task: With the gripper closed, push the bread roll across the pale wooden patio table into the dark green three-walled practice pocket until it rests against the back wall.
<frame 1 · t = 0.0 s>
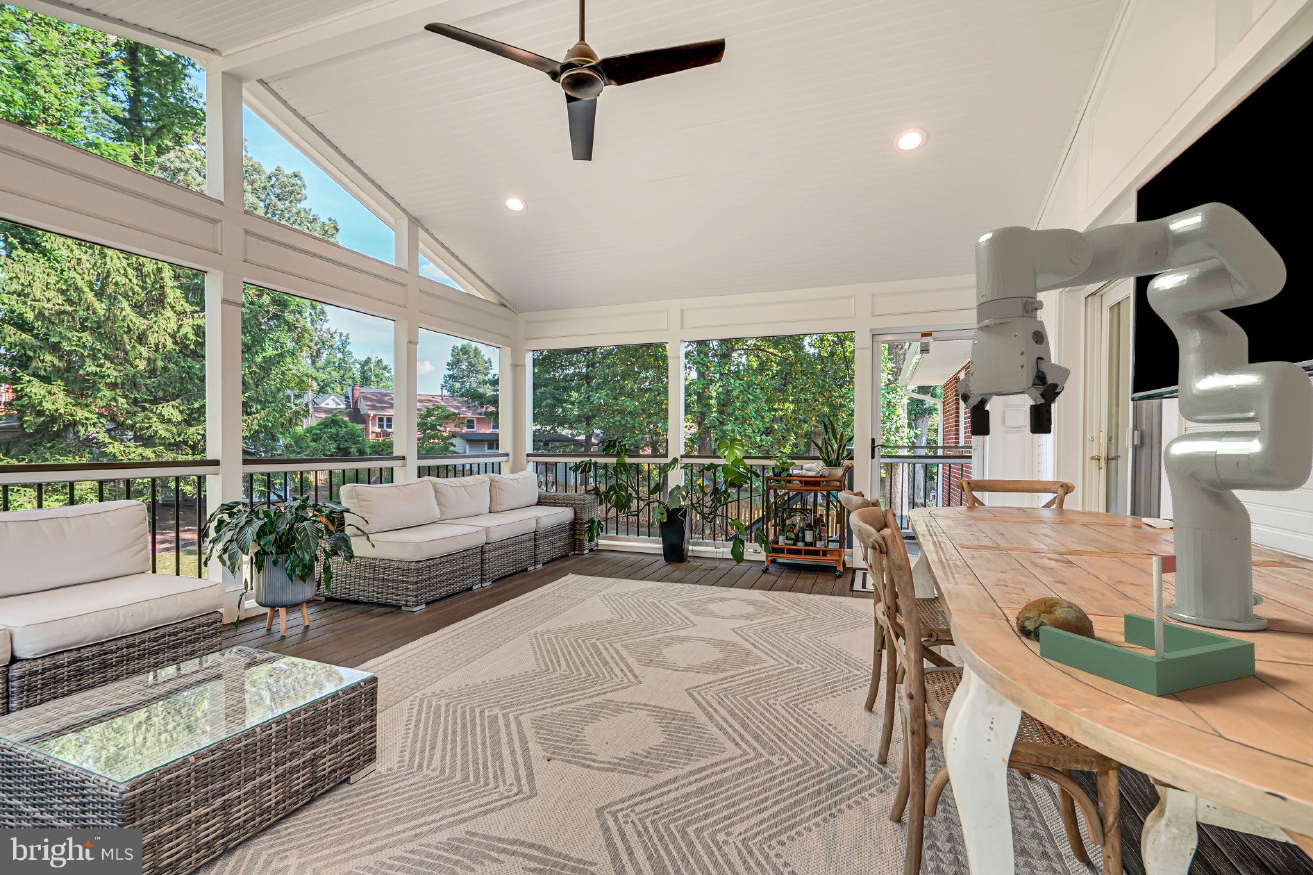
hand: (1008, 434, 84), 31 cm above the table, fingers open, 9 cm apart
bread roll: (1054, 639, 90), on the table
practice pocket: (1136, 662, 79), on the table
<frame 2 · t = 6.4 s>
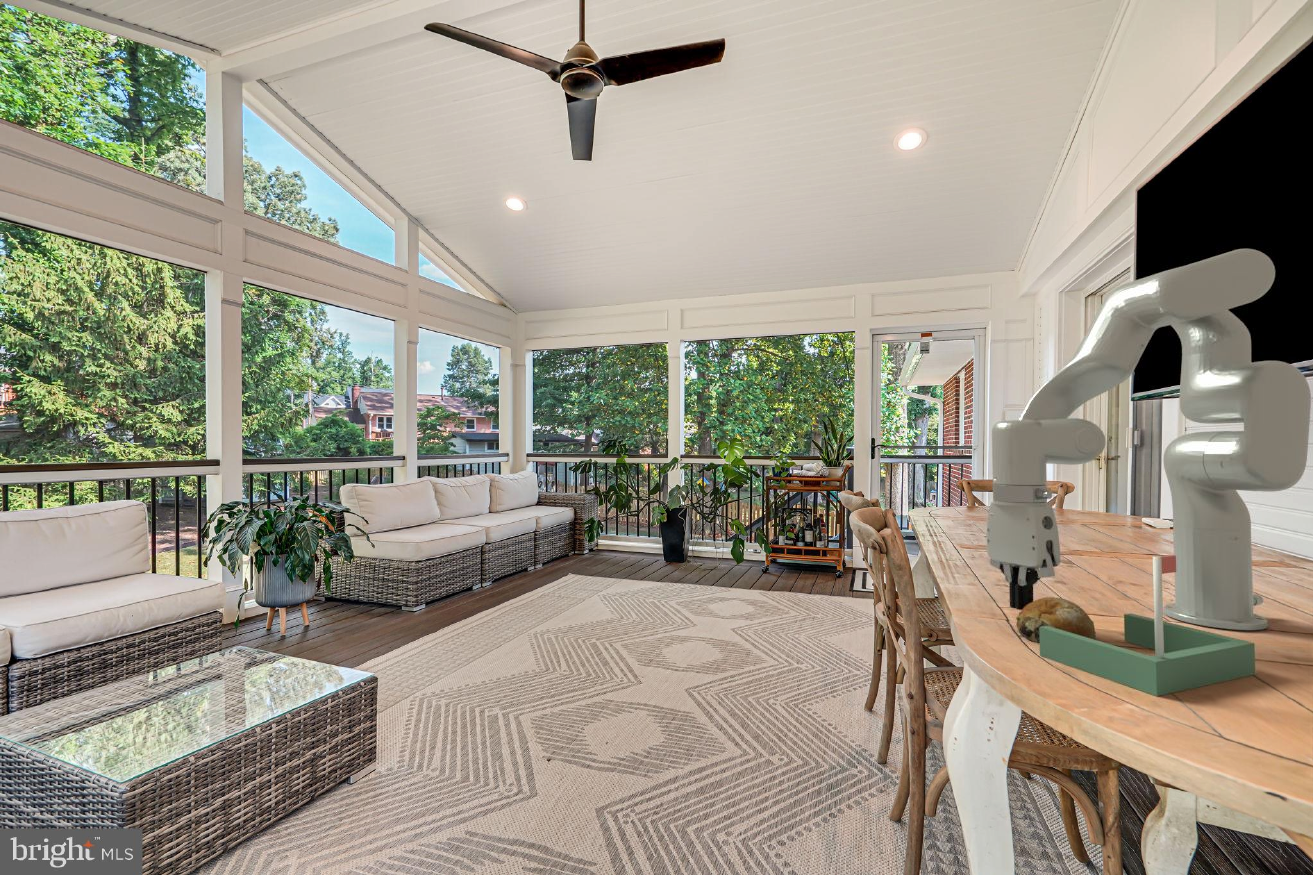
hand: (1021, 607, 95), 3 cm above the table, fingers closed
bread roll: (1055, 640, 89), on the table, touching gripper
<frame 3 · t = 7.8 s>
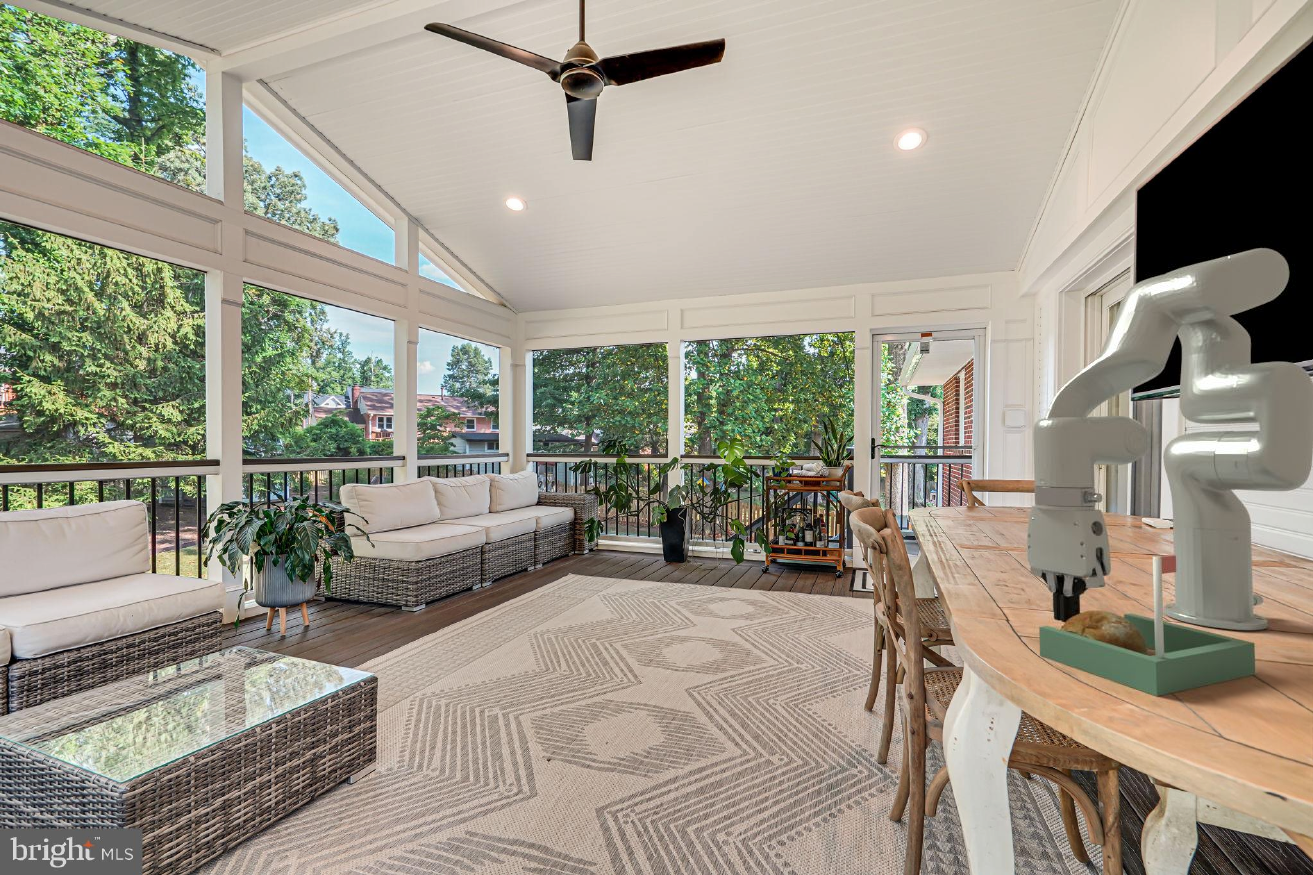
hand: (1066, 620, 88), 3 cm above the table, fingers closed
bread roll: (1101, 657, 82), on the table, touching gripper
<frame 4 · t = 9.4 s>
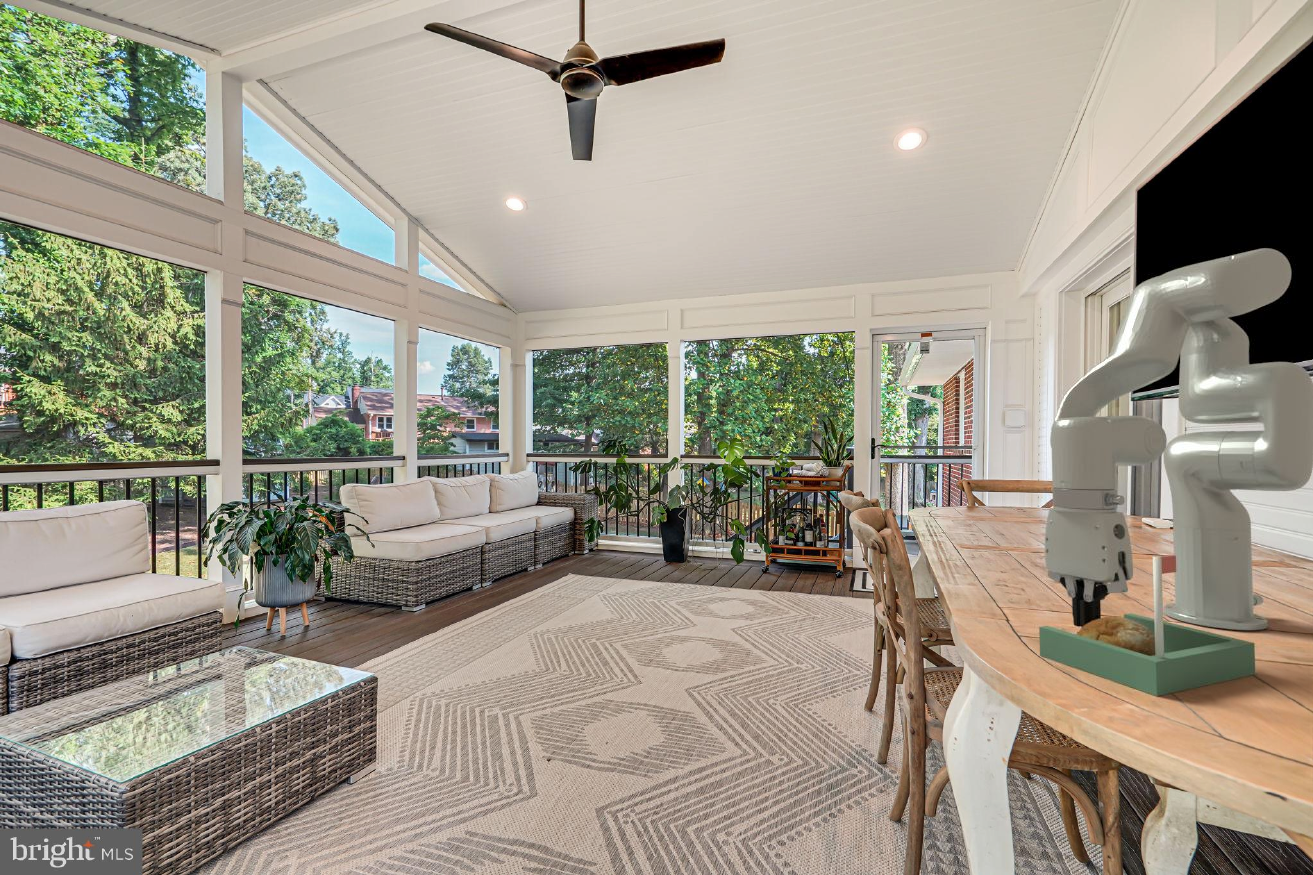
hand: (1086, 625, 85), 3 cm above the table, fingers closed
bread roll: (1118, 665, 79), on the table
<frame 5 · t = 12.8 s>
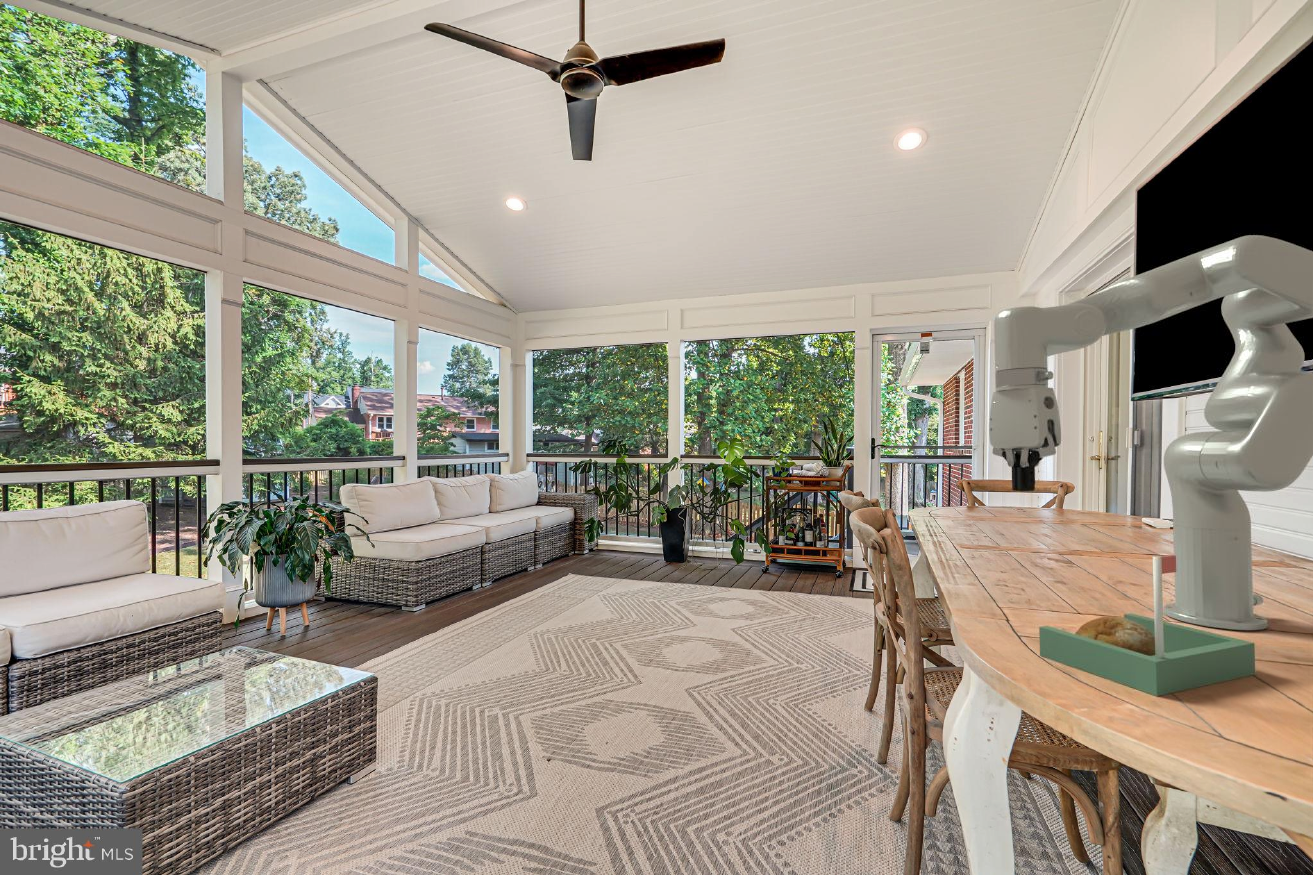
hand: (1023, 490, 98), 22 cm above the table, fingers closed
nothing on the table moved.
at the end: bread roll inside the target area on the practice pocket (2.4 cm from its centre), point 0.0 cm above the practice pocket's base; bread roll moved 10.7 cm from its start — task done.
